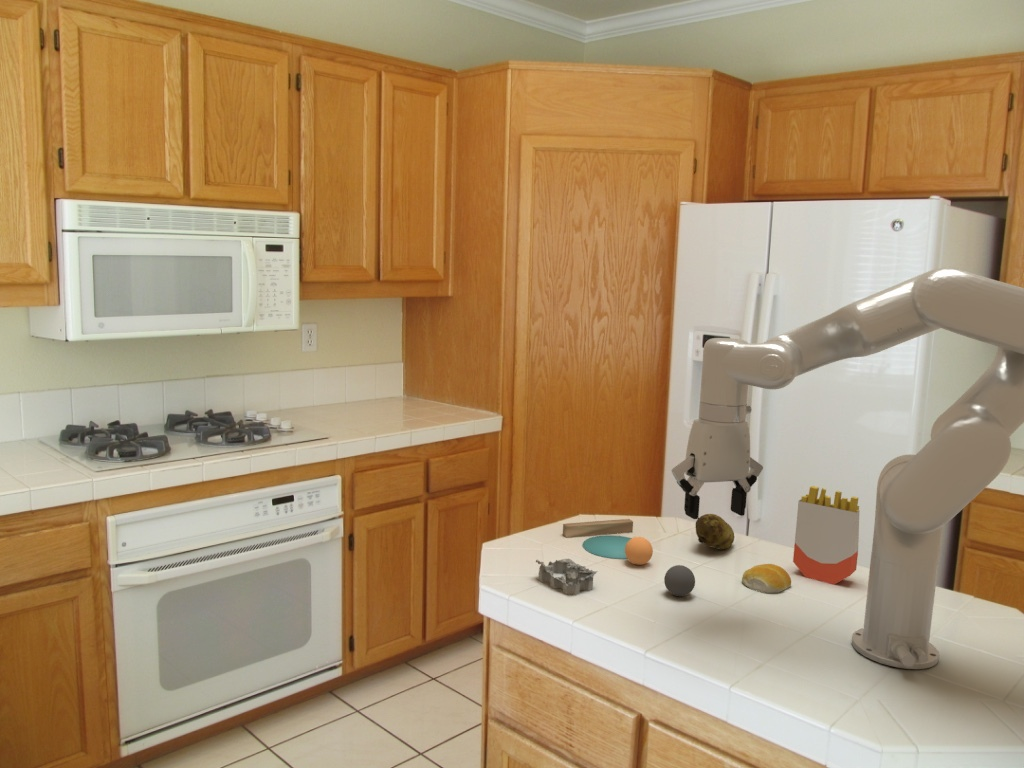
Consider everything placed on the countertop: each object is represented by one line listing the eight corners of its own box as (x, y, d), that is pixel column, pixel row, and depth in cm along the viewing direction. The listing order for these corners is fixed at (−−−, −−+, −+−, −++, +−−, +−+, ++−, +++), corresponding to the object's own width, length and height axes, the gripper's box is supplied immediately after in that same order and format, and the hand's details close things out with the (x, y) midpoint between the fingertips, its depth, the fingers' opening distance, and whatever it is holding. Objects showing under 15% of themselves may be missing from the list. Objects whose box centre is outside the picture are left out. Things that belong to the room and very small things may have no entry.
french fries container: (799, 567, 169) (807, 480, 167) (855, 581, 163) (864, 491, 160) (791, 573, 166) (799, 485, 163) (848, 588, 159) (858, 496, 157)
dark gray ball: (695, 602, 150) (697, 572, 149) (664, 599, 150) (666, 570, 150) (692, 590, 155) (694, 561, 155) (662, 588, 156) (664, 559, 155)
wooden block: (632, 532, 187) (633, 521, 187) (566, 537, 182) (566, 526, 182) (628, 529, 189) (629, 518, 189) (562, 534, 184) (563, 523, 184)
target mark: (651, 561, 170) (651, 560, 170) (581, 556, 171) (582, 555, 171) (647, 538, 183) (647, 537, 183) (583, 534, 185) (583, 533, 185)
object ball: (652, 570, 165) (654, 543, 164) (624, 568, 165) (626, 541, 165) (651, 560, 170) (652, 534, 169) (623, 558, 171) (625, 532, 170)
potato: (749, 548, 180) (752, 512, 179) (712, 560, 172) (715, 522, 170) (717, 537, 186) (720, 502, 185) (680, 548, 178) (683, 512, 177)
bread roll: (796, 585, 160) (798, 565, 160) (775, 598, 154) (776, 577, 153) (756, 573, 166) (758, 554, 165) (734, 585, 159) (735, 565, 159)
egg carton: (532, 579, 159) (532, 558, 158) (563, 572, 163) (563, 551, 162) (568, 599, 150) (569, 577, 150) (599, 590, 154) (600, 569, 154)
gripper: (753, 407, 145) (745, 505, 148) (664, 410, 140) (657, 511, 142) (780, 416, 138) (772, 518, 141) (687, 419, 133) (680, 525, 135)
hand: (714, 514), depth 141 cm, fingers open, 8 cm apart
